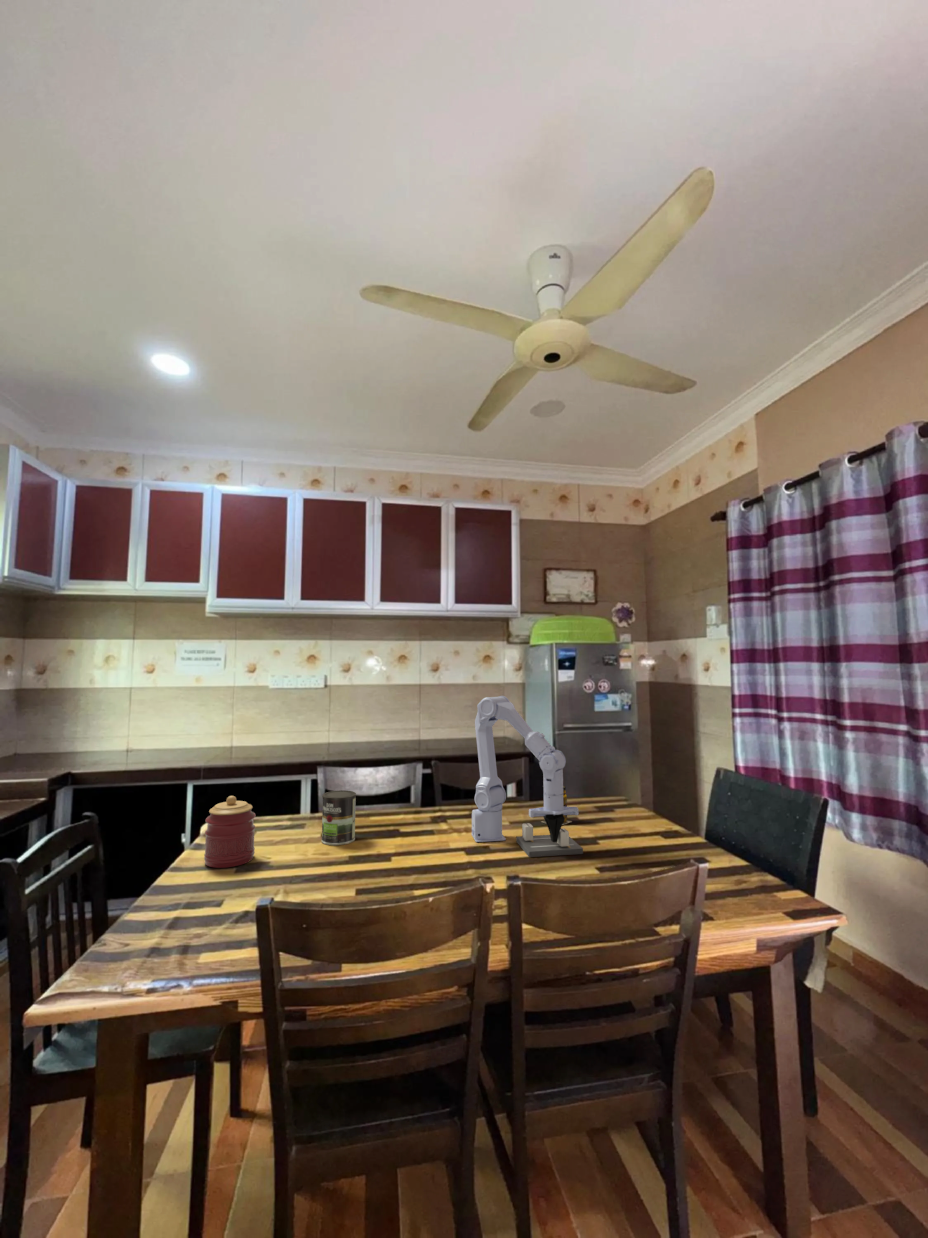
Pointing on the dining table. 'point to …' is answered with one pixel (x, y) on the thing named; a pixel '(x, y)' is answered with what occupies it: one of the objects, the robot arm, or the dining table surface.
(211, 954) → the dining table surface
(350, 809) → the coffee can
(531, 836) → the fader far
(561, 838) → the fader near
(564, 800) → the condiment
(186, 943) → the dining table surface
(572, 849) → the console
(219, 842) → the canister
